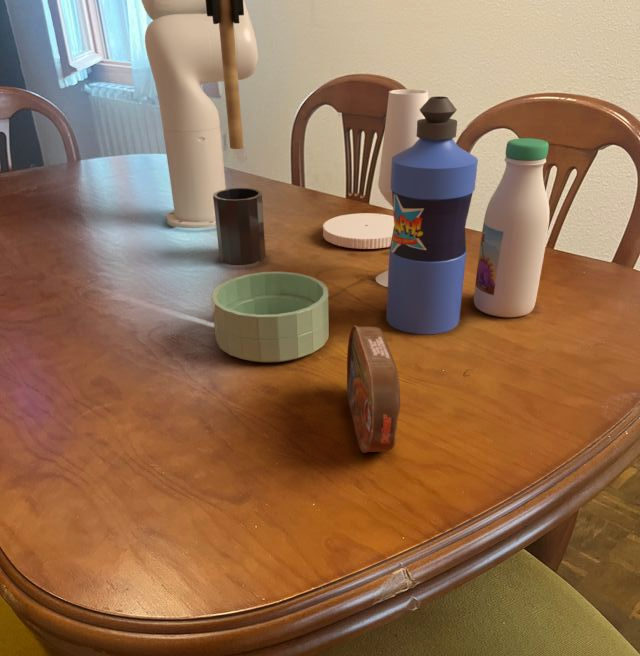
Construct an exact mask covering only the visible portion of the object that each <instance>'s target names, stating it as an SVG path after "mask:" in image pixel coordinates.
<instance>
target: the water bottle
mask: <svg viewBox="0 0 640 656" xmlns="http://www.w3.org/2000/svg"><path fill="white" fill-rule="evenodd" d="M457 110H458V109H457V108H456V106H455V105H454V104H453V102H452V101H451V100H450V99H449V97H447V96H440V95H439V96H438V95H437V96H431V97H430V98H428V101H427V102H426V103H425V104H424V105H423V106H422V107H421V108H420V112H421V113H422V114H423V116H424V117H425V119H420V120H418V121H417V135H416V136H417V137H418V138H419V140H418V141H417V142H416V143H415V144H414V145H413V146H412V147H410V148H408V149H406V150H404V151H402V152H400V153H398V154H397V155H395V156H393V157H392V164H391V190H392V199H393V207H392V211H393V216H394V229H393V234H392V240H391V246H389V249H388V250H389V253H388V269H387V270H388V287H387V295H386V322H387V323H388V324H389V325H390V327H392V328H394V329H396V330H398V331H401V332H404V333H409V334H414V335H436V334H442V333H443V334H444V333H447V332H449V331H451V330H453V329H455V328H456V327H458V325H459V323H460V315H461V307H462V300H463V299H462V298H463V289H464V279H465V270H466V269H465V268H466V260H467V259H466V258H467V245H466V244H467V243H466V241H467V240H466V225H467V219H468V216H469V213H470V212H469V211H470V207H471V203H472V198H473V197H472V196H473V193H474V192H475V189H476V181H477V171H478V164H479V163H478V162H479V159H478V157H476V156H475V155H473V154H472V153H470V152H468V151H466V150H464V149H463V148H461V147H459V145H458V144H457V143H456V141H455V140H454V138H456V137H457V129H458V120H457V119H453V118H452V116H453V115H455V113H456V112H457Z"/></svg>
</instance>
